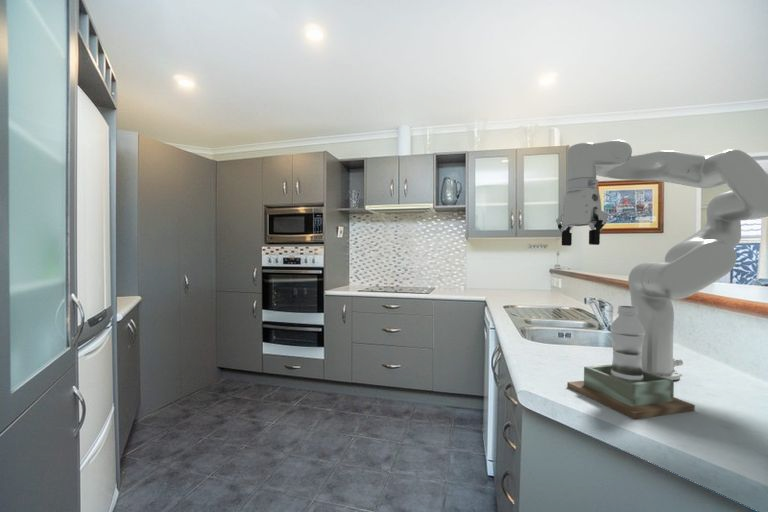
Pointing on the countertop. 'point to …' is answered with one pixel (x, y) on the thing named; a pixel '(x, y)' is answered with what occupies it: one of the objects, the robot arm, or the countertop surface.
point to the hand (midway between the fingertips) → (579, 245)
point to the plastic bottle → (627, 345)
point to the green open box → (631, 393)
